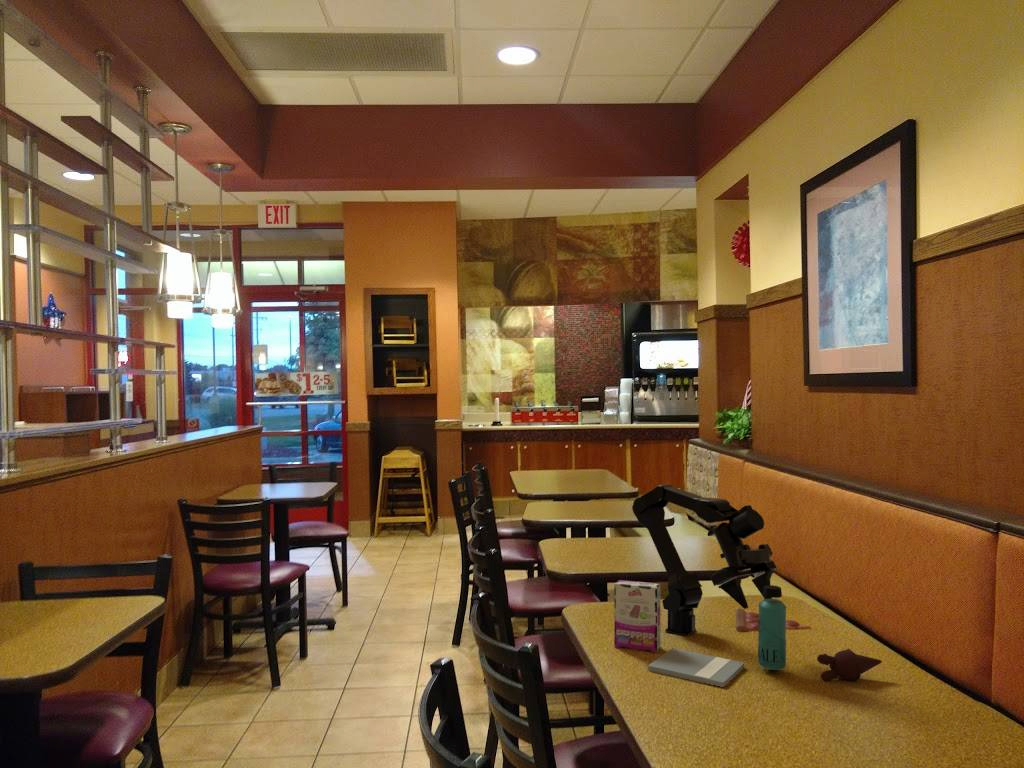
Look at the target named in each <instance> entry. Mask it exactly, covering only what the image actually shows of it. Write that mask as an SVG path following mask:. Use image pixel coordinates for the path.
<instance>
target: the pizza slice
mask: <svg viewBox="0 0 1024 768" xmlns="http://www.w3.org/2000/svg"><path fill="white" fill-rule="evenodd" d="M758 614H759V613H757V612H755V611H754V612H753V611H752V612H747V611H746V610H745V609H744V608H740V607H739V608H736V611H735V630H737V631H736V632H740V631H744V632H756V630H759V629H758V627H759V623H758V622H759V620H758V619H759V615H758ZM794 628H811V629H812V627H811V626H810V625H808V624H804V623H803V624H801V623H799V622H798V621H796V620H791V619H788V620H787V619H786V629H788V630H795V629H794Z"/></svg>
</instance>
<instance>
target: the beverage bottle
mask: <svg viewBox="0 0 1024 768" xmlns="http://www.w3.org/2000/svg"><path fill="white" fill-rule="evenodd" d="M782 593H783V592H782V587H780V586H778V585H773V584H770V585H766V586H764V592H763V595H764V596H767V597H772V599H764V598H763V599H762V600H761V601H760V602H759V603H758V613H757V614H758V615H759V619H758V620H759V622H758V623H759V627H758V629H759V631H758V636H757V642H758V643H757V662H758V666H760V667H762V668H765V669H769V670H775V671H776V670H784V669H785V668H786V666H787V639H786V637H787V635H786V634H787V630H786V621H787V606H786V604H785V603H784V602H783V601H782V600H779V599H777V598H782V597H783V594H782Z"/></svg>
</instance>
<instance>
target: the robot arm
mask: <svg viewBox="0 0 1024 768" xmlns="http://www.w3.org/2000/svg"><path fill="white" fill-rule="evenodd" d="M669 504H672V505H673V504H674V505H676V506H679V507H682V508H685V509H686V510H689V511H692V512H693V513H695V515H696V516H697V517H698V518H699V519H701V520H703V521H704V522H706V523H708V524H709V523H710V524H713V523H720V524H713V525H709V530H708V531H707V537H713V536H715V538H716V541H717V543H718V545H719V548H720V550H721V552H722V553H721V554H719V557H720V559H725V561H726V564H727V566H726V567H722V568H720V569H719V570H717V571H716V572H713V573H712V574H711V576H710V580H711V582H712V584H713V586H714V587H718V589H721V590H723V591H724V592H725V593H726V594H727V595H728V596H730V597H731V599H733V600H734V601H735V602H736V603H738V605H739V606H741V607H742V609H744V610H746V609H748V608H749V605H748V601H747V598H746V596H745V594H744V591H743V589H742V585H741V584H742V579H743V578H742V577H745V576H749V577H751V578H752V579H751V582H752V583H753V585H754V586H755V587H756V589H757V591H758V592H759V593H760V594H761V596H762V598H763V600H764V599H773V597H767V596H764V595H763V592H764V586H766V585H771V578H772V577H773V574H775V570H776V569H777V566H776V563H775V562H774V560H772V559H771V557H772V556H773V554H774V553H773V551H772V549H771V547H770V545H769V543H764V544H763V543H762V544H758V548H751V546H750V545H749V544H747V543H746V544H744V542H743V540H745V539H747V538H749V537H751V536H752V535H754V534H756V533H758V532H759V531H761V530H763V529H764V527H765V520H764V519H763V516H762V515H761V514H760V513H759V512H758V511H757V510H755V509H753V507H752V506H751V504H747V505H744V506H741V508H740V509H739V510H738V509H737V508H735V507H734V506H732V505H731V504H730V501H728V500H727V499H725V498H719V497H718V498H717V497H705V496H700V495H698V494H695V493H692V492H689V491H686V490H685V489H684V490H683V489H681V488H677V487H675V486H673V485H671V484H668V483H667V484H659V485H657V486H655V488H653V489H652V490H650V491H648V492H647V493H644V494H642V495H641V496H639V497H636V498H635V499H634V500H633V503H632V506H631V509H632V512H633V515H634V516H635V517H636V520H637V521H638V523H640V525H642V526H643V527H644V528H645V529H647V531H648V533H649V535H650V537H651V539H652V542H653V544H654V546H655V549H656V552H657V554H658V556H659V558H660V560H661V562H662V565H663V567H664V569H665V572H666V574H667V576H668V580H667V590H668V595H666V597H664V598H663V600H662V601H661V603H662V606H663V609H664V610H667V628H665V629H664V631H665V632H666V633H672V634H676V635H681V636H690V635H691V634H692V633H694V632H695V631H696V630H697V628H696V615H695V614H694V612H695V611H694V609H698V607H699V604H700V601H701V600H702V597H703V590H702V588H703V585H702V584H701V583H700V581H699V579H698V575H697V574H696V572H692V573H690V572H689V571H687V570H686V568H685V566H684V564H683V562H682V559H681V557H680V555H679V553H678V551H677V549H676V546H675V544H674V541H673V540H672V538H671V535H670V533H669V530H668V528H667V526H666V525H665V515H666V512H665V508H666V507H667V506H668V505H669ZM726 521H727V522H726Z"/></svg>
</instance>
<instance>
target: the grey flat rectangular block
mask: <svg viewBox="0 0 1024 768" xmlns="http://www.w3.org/2000/svg"><path fill="white" fill-rule="evenodd" d="M743 668H744V669H745V662H742V661H737V660H731V659H729V658H725V657H724V658H723V657H719V656H712V655H708V654H705V653H703V654H702V653H699V652H694V651H688V650H684V649H681V648H675V647H674V648H671V649H669V650H668V651H667V652H665V653H663V654H662V655H661V656H660V657H657V659H655V660H653V661H652V662H650V664H648V665H647V671H648V672H653V673H656V674H661V675H665V676H669V675H670V677H674V676H675V677H674V678H678V677H679V678H678V679H682V678H684V680H687V679H689V680H688V681H691V680H693V681H692V682H695V681H697V683H700V682H702V683H701V684H704V683H706V684H705V685H708V684H711V685H710V686H713V685H716V686H715V687H717V686H720V687H719V688H721V687H724V686H725V685H726V684H727V683H728V682H729V681H730V680H731V681H732V680H733V679H735V678H736V677H737V676H738V675H739V674H740V673H741V672H742V671H743V670H744V669H743ZM741 670H742V671H741ZM740 671H741V672H740ZM739 672H740V673H739ZM738 673H739V674H738ZM737 674H738V675H737ZM736 675H737V676H736ZM731 681H730V682H731ZM730 682H729V683H730ZM729 683H728V684H729ZM728 684H727V685H728ZM727 685H726V686H727ZM726 686H725V687H726ZM725 687H724V688H725Z"/></svg>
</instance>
